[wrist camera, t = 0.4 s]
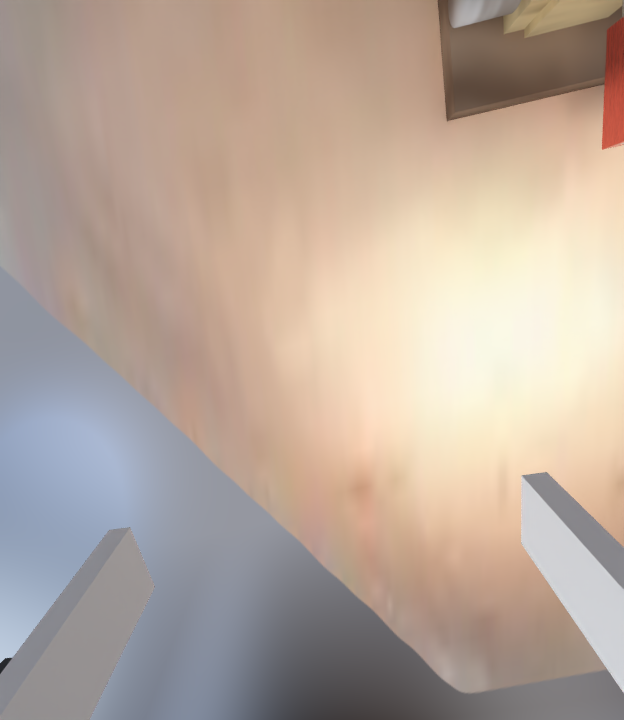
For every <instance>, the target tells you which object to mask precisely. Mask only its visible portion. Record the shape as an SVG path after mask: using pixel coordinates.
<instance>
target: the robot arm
mask: <svg viewBox="0 0 624 720" xmlns="http://www.w3.org/2000/svg"><path fill="white" fill-rule="evenodd" d="M521 544H522V545H523V547H524V548H525V550H526V551H527V553H528V554H529V555H530V557H531V558H532V560H533V561H534V563H535V564H536V566H537V567H538V569H539V570H540V572H541V573H542V574H543V576H544V577H545V579H546V580H547V582H548V583H549V585H550V586H551V588H552V589H553V590H554V592H555V593H556V595H557V596H558V598H559V599H560V601H561V602H562V604H563V605H564V607H565V608H566V609H567V611H568V612H569V614H570V615H571V617H572V618H573V620H574V621H575V623H576V624H577V625H578V627H579V628H580V630H581V631H582V633H583V634H584V636H585V637H586V639H587V640H588V642H589V643H590V644H591V646H592V647H593V649H594V650H595V652H596V653H597V655H598V656H599V658H600V659H601V661H602V662H603V663H604V665H605V666H606V668H607V669H608V671H609V672H610V674H611V675H612V677H613V678H614V679H615V681H616V682H617V684H618V685H619V687H620V688H621V690H622V691H623V693H624V547H622V546H621V545H620V544H619V543H618V542H617V541H616V540H615V539H614V538H613V537H612V536H611V535H610V534H609V533H608V532H607V531H606V530H605V529H604V528H603V527H602V526H601V525H600V524H599V523H598V522H597V521H596V520H595V519H594V518H593V517H592V516H591V515H590V514H589V513H588V512H587V511H586V510H585V509H584V508H583V507H582V506H581V505H580V504H579V503H578V502H577V501H576V500H575V499H574V498H572V497H571V496H570V495H569V494H568V493H567V492H566V491H565V490H564V489H563V488H562V487H561V486H560V485H559V484H558V483H557V482H556V481H555V480H554V479H553V478H552V477H551V476H550V475H549V474H548V473H547V472H545V473H537V474H530V475H522V523H521ZM154 587H155V586H154V584H153V581H152V579H151V577H150V574H149V572H148V569H147V567H146V564H145V562H144V560H143V557H142V555H141V552H140V550H139V548H138V545H137V543H136V541H135V538H134V536H133V534H132V531H131V529H130V527H129V528H121V529H114V530H109V531H108V532H107V534H106V535H105V536H104V538H103V539H102V540H101V542H100V543H99V544H98V546H97V547H96V548H95V549H94V551H93V552H92V554H91V555H90V556H89V558H88V559H87V560H86V561H85V563H84V564H83V565H82V567H81V568H80V569H79V571H78V572H77V573H76V575H75V576H74V577H73V579H72V580H71V581H70V583H69V584H68V585H67V587H66V588H65V589H64V590H63V592H62V593H61V594H60V596H59V597H58V598H57V600H56V601H55V602H54V604H53V605H52V606H51V608H50V609H49V610H48V612H47V613H46V614H45V616H44V617H43V618H42V620H41V621H40V622H39V624H38V625H37V626H36V628H35V629H34V630H33V632H32V633H31V634H30V635H29V637H28V638H27V640H26V641H25V642H24V643H23V645H22V646H21V647H20V649H19V650H18V651H17V653H16V654H15V655H14V657H13V658H5V659H4V660H3V661H2V662H1V663H0V720H90V717H91V715H92V713H93V711H94V709H95V707H96V705H97V703H98V701H99V699H100V697H101V695H102V693H103V691H104V689H105V687H106V685H107V683H108V681H109V679H110V677H111V675H112V673H113V671H114V669H115V667H116V664H117V663H118V661H119V659H120V657H121V654H122V653H123V650H124V648H125V646H126V644H127V642H128V640H129V638H130V636H131V634H132V632H133V630H134V628H135V626H136V624H137V622H138V620H139V618H140V616H141V614H142V612H143V610H144V608H145V606H146V604H147V602H148V600H149V598H150V596H151V594H152V591H153V590H154Z"/></svg>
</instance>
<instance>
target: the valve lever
mask: <svg viewBox="0 0 624 720" xmlns="http://www.w3.org/2000/svg"><path fill="white" fill-rule="evenodd" d="M621 145H624V0H623V3H622V18H621V19H620V20H619V21H617V22H616V23H615V24H614V25H612V26H611V27H610V28H608V29H607V41H606V65H605V89H604V113H603V137H602V149H607V148H611V147H616V146H621Z"/></svg>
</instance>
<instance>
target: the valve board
mask: <svg viewBox="0 0 624 720" xmlns="http://www.w3.org/2000/svg"><path fill="white" fill-rule="evenodd" d="M622 3H623V0H438V7H439V21H440V35H441V48H442V62H443V75H444V89H445V102H446V116H447V121H449V120H453V119H457V118H462V117H466V116H470V115H475V114H479V113H483V112H487V111H492V110H496V109H500V108H504V107H509V106H513V105H517V104H521V103H526V102H530V101H534V100H538V99H543V98H547V97H551V96H555V95H560V94H564V93H568V92H572V91H577V90H581V89H585V88H590V87H594V86H598V85H602V84H605V65H606V41H607V29H608V28H610V27H611V26H612V25H614V24H615V23H616V22H617V21H619V20H620V19H621V18H622Z"/></svg>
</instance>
